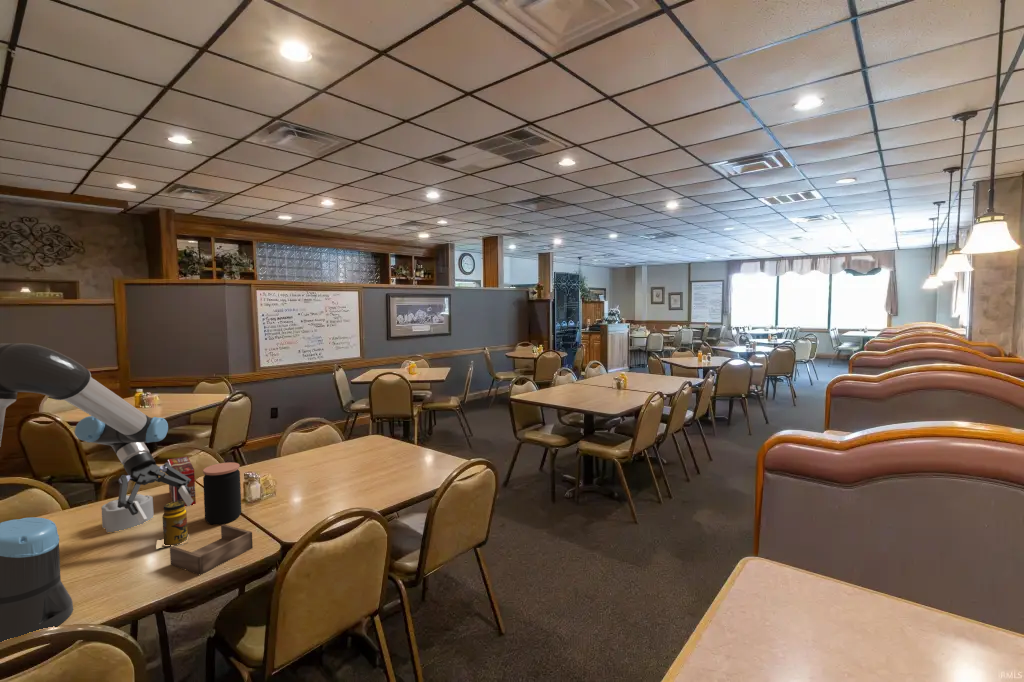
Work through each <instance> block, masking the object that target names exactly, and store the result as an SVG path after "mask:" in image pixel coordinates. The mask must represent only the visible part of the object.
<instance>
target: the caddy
mask: <svg viewBox="0 0 1024 682" xmlns="http://www.w3.org/2000/svg"><path fill="white" fill-rule="evenodd" d="M220 533H221V534H220V535H221V537H220V538H219V539H217V540H215V541H212V542H211V543H208V544H206V545H204V546H202V547H200V548H198V549H195V550H194V551H189V550H187V549H182V548H179V547H177V546H173V547H169V553H170V554H169V556H170V560H169V561H170V566H173V567H176V568H178V567H179V568H178V569H181V568H182V570H184V569H186V570H185V571H187V570H188V571H187V572H190V571H191V572H190V573H193V572H194V574H196V575H199V574H200V575H199V576H201V574H202V575H203V573H204V574H205V573H207V572H209V571H211V570H214V569H215V568H217V567H219V566H221V565H222V563H223V564H224V562H225V563H226V561H227V562H228V560H229V561H230V559H231V560H232V559H234V558H236V557H239V556H240V555H242V554H244V553H246V552H248V551H250V550H251V549H253V548H254V546H253V544H254V543H253V531H250V530H247V529H242V528H238V527H235V526H232V525H227V524H226V523H225V524H220ZM220 564H221V565H220ZM218 565H219V566H218ZM216 566H217V567H216ZM214 567H215V568H214Z"/></svg>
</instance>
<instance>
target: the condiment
mask: <svg viewBox="0 0 1024 682" xmlns="http://www.w3.org/2000/svg"><path fill="white" fill-rule="evenodd" d="M187 515H188V513H187V509H186V507H185V503H184V502H183V501H175V502H172V501H171V502H169V503H166V504H164V506H163V515H162V534H163V535H162V537H163V538H160V539H159V540H161V539H164V544H165V545H170V546H171V545H177V544H180V543H182V542H184V541H186V540H187V537H188V517H187Z"/></svg>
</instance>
